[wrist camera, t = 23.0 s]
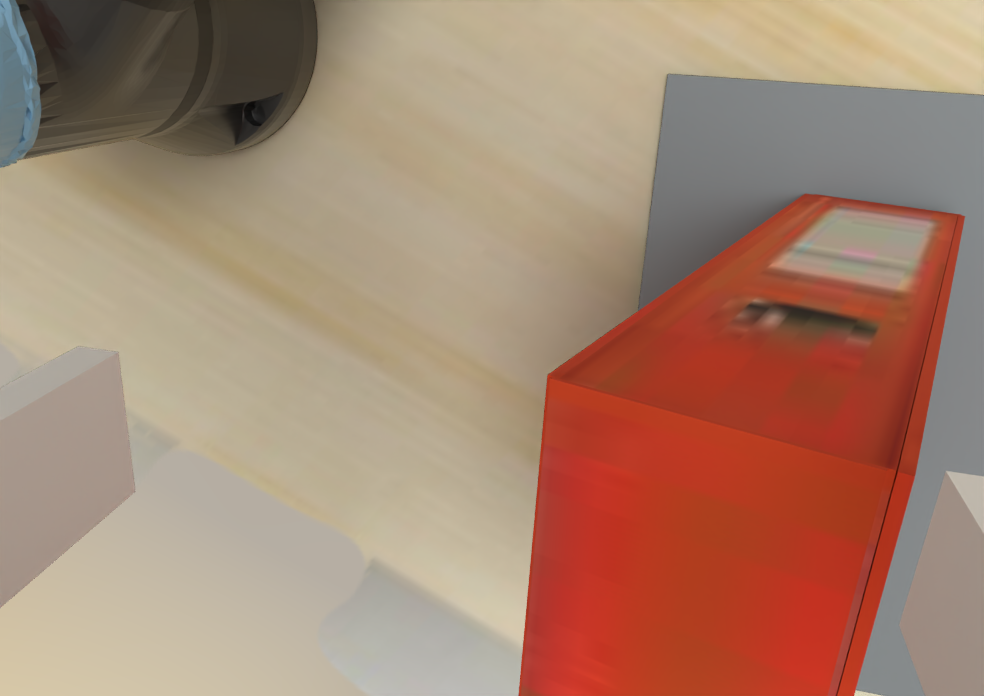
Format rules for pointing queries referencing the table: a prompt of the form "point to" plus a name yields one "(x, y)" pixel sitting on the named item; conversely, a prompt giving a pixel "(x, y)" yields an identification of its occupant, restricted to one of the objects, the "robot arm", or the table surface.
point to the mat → (852, 175)
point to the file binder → (740, 463)
